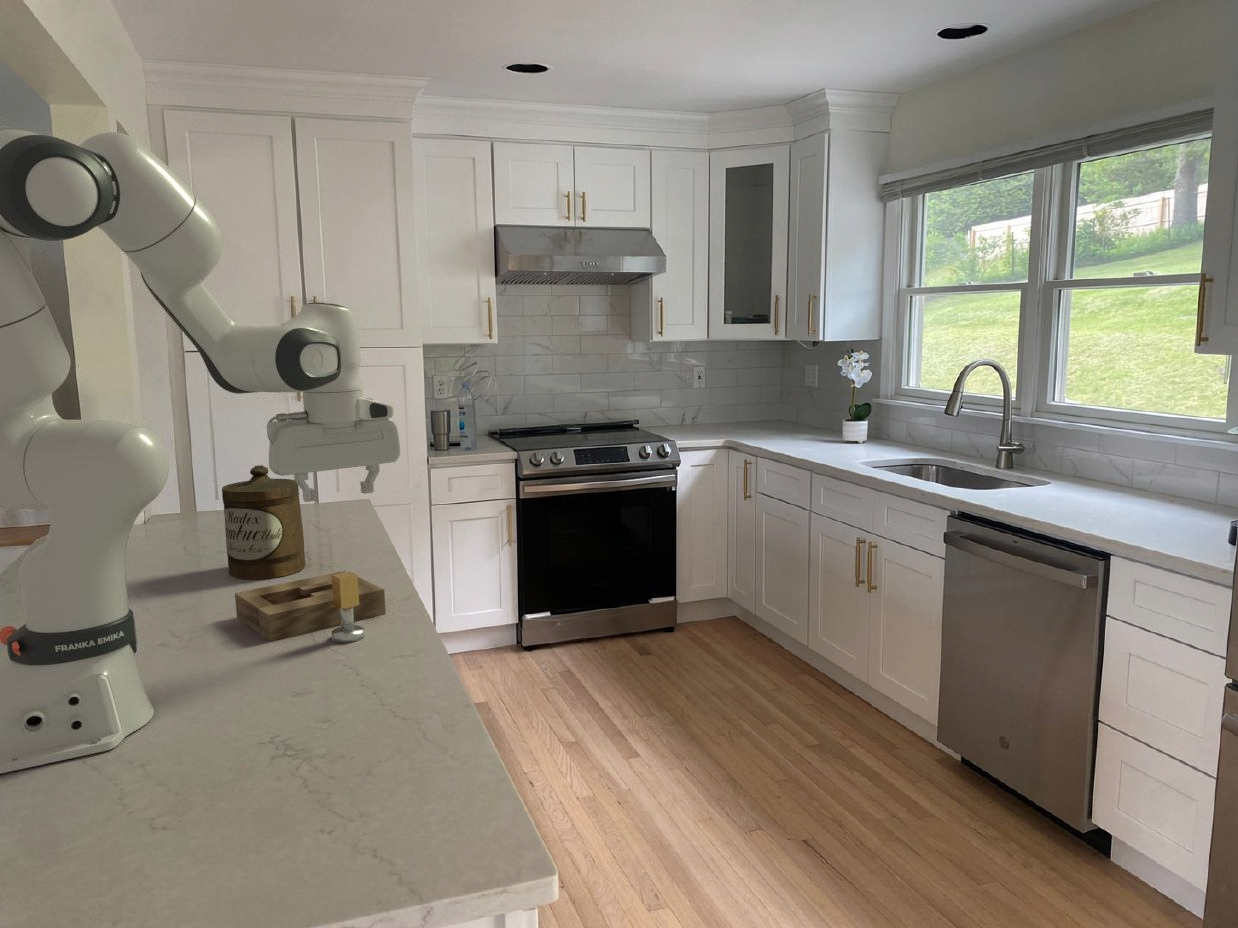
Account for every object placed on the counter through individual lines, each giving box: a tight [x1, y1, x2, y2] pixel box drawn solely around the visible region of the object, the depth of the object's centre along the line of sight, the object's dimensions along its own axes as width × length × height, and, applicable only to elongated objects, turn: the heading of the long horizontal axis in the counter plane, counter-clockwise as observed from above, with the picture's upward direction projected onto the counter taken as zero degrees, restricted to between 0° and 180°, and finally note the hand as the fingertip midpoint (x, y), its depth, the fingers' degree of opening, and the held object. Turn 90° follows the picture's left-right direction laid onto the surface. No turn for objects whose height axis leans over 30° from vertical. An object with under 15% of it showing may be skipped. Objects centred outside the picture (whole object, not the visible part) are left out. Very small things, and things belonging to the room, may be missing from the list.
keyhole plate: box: [234, 570, 387, 642], centre depth 153 cm, size 20×16×4 cm
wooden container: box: [221, 464, 306, 581], centre depth 181 cm, size 15×15×22 cm
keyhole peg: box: [331, 570, 365, 644], centre depth 142 cm, size 5×5×10 cm
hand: (339, 496), depth 139 cm, fingers open, 8 cm apart
